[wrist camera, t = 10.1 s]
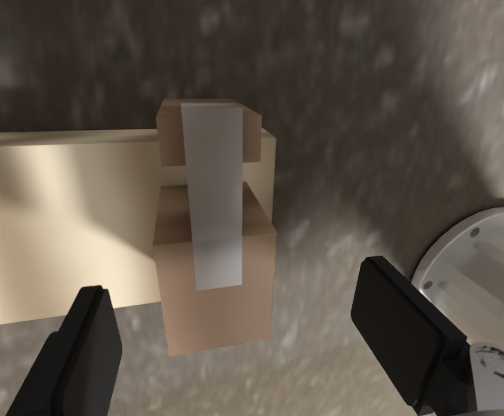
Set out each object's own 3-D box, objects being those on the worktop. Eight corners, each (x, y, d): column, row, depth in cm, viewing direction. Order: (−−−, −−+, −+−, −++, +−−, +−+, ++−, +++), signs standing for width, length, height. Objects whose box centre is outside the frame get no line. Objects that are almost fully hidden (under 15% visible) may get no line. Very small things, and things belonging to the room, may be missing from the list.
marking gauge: (242, 91, 13) (285, 107, 8) (242, 255, 17) (270, 338, 12) (150, 91, 12) (131, 109, 7) (172, 263, 16) (169, 356, 11)
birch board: (260, 126, 16) (276, 138, 14) (256, 257, 20) (268, 286, 18) (-331, 139, 11) (-490, 162, 9) (-185, 311, 15) (-264, 363, 13)
